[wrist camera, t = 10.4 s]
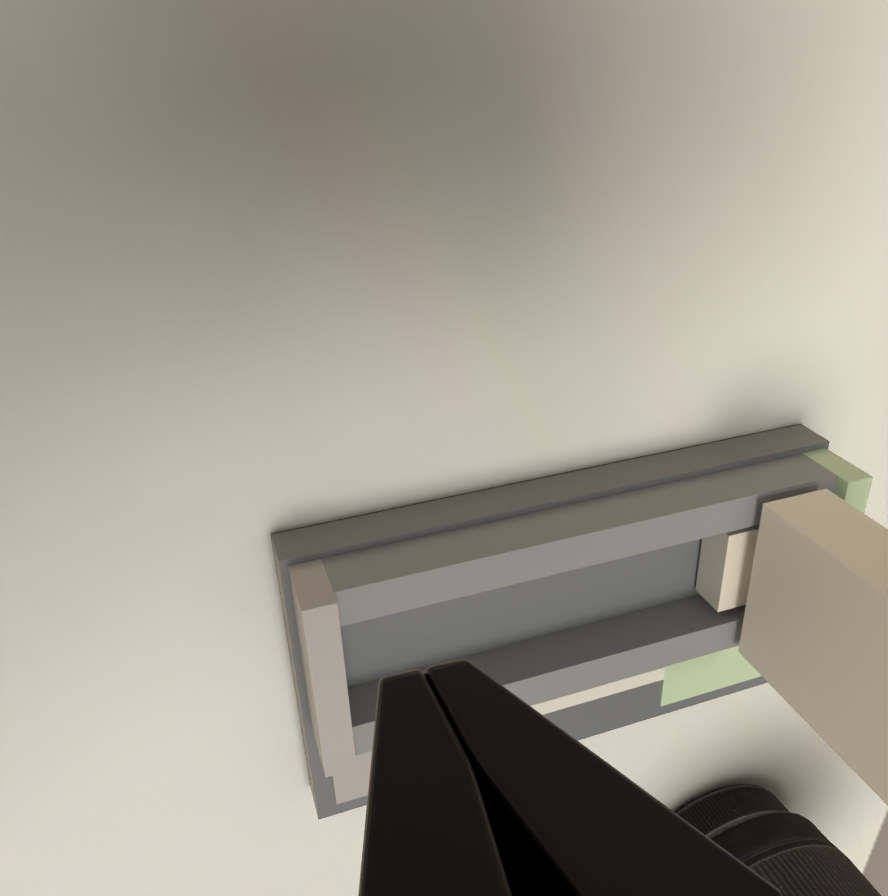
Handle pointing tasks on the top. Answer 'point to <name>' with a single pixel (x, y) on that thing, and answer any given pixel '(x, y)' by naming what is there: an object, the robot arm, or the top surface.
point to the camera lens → (775, 843)
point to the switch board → (536, 593)
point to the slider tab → (814, 617)
